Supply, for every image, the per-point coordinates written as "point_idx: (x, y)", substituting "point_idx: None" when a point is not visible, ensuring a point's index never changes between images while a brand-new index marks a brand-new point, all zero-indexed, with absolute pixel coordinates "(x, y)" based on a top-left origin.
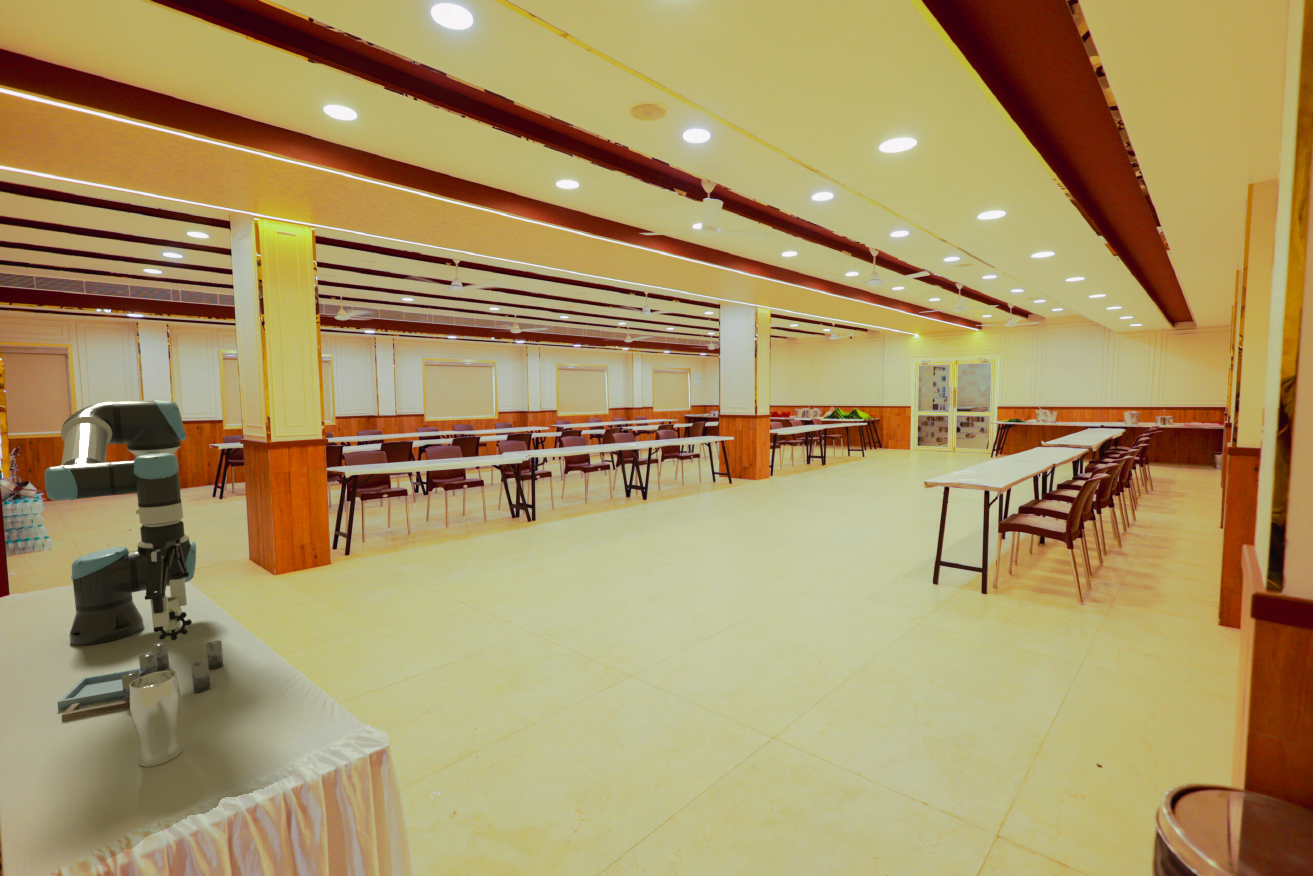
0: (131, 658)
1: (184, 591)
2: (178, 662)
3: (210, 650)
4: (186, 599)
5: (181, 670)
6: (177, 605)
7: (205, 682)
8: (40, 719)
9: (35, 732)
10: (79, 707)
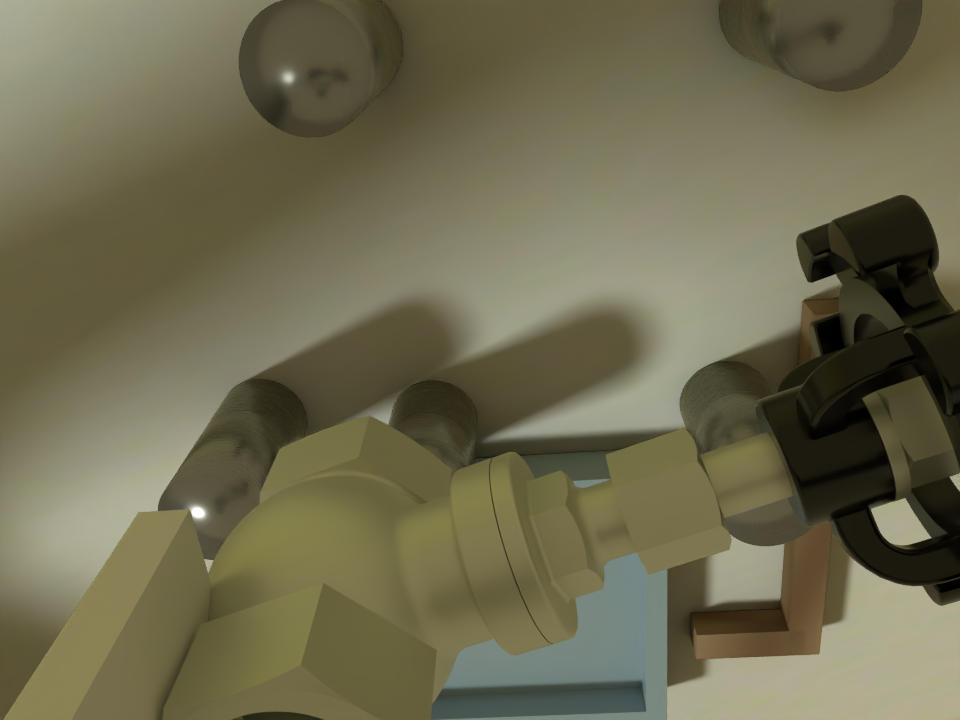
0: (56, 625)
1: (83, 703)
2: (185, 350)
3: (378, 76)
4: (105, 567)
5: (337, 282)
6: (341, 602)
7: None
8: (733, 715)
9: (883, 681)
10: (698, 618)
